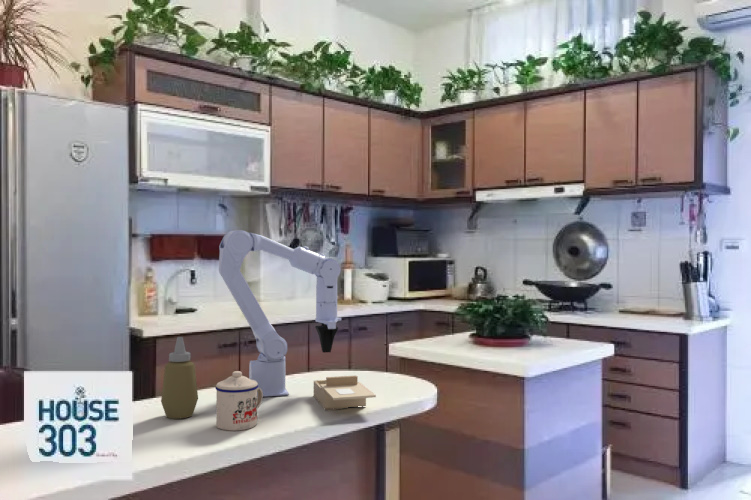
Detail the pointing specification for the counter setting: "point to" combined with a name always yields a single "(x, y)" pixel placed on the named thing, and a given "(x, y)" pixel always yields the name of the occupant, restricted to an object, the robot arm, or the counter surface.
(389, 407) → the counter surface
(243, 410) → the teacup with lid
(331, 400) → the box
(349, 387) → the lid
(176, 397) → the squeeze bottle
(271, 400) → the counter surface
